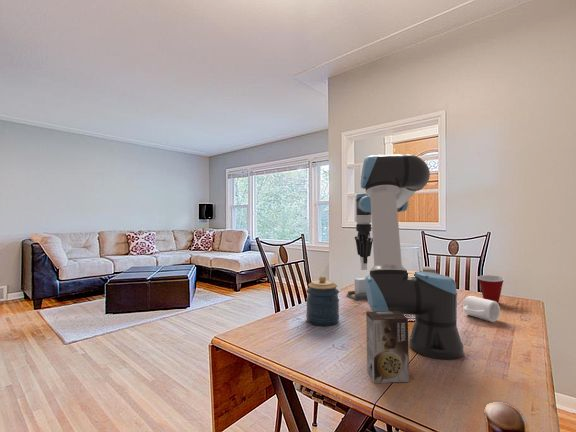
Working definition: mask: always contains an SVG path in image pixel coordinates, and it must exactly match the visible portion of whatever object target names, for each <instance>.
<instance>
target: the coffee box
mask: <svg viewBox="0 0 576 432" xmlns="http://www.w3.org/2000/svg"><path fill="white" fill-rule="evenodd" d="M365 314H366V317H365V319H366V322H365V323H366V325H365V326H366V372H367V373H368V375H369V377H370V379H371V380H372V383H374V384H385V383H386V384H387V383H388V384H389V383H408V382H410V362H409V360H410V359H409V357H410V356H409V318H407V316H405V315H403V314H402V313H401V312H399V311H372V310H371V311H366V313H365Z"/></svg>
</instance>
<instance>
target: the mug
mask: <svg viewBox="0 0 576 432" xmlns="http://www.w3.org/2000/svg"><path fill="white" fill-rule="evenodd" d="M462 310H463V312H464V313H465V314H466V315H468V316H471V317H474V318H477V319H480V320H484V321H487V322H491V323H494V322H496V321H498V319H499V318H500V316H501V315H500V314H501V307H500V304H499V302H498V303H497V302H495V301H491V300H487V299H483V297H479V296H475V295H474V296H473V295H468V296H467V297H466V298H465V299H464V300H463V307H462Z"/></svg>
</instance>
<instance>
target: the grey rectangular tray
mask: <svg viewBox="0 0 576 432" xmlns="http://www.w3.org/2000/svg"><path fill="white" fill-rule="evenodd" d="M346 297H348V298H349V299H352V300H355V301H358V300H368V299H367V294H366V293H360V294H355V290H349V291H347V293H346Z"/></svg>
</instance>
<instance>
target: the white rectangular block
mask: <svg viewBox="0 0 576 432" xmlns="http://www.w3.org/2000/svg"><path fill="white" fill-rule="evenodd" d="M365 278H366V277H359V278H354V291H355V294H360V293H366V287H365V285H366V284H365Z"/></svg>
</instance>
